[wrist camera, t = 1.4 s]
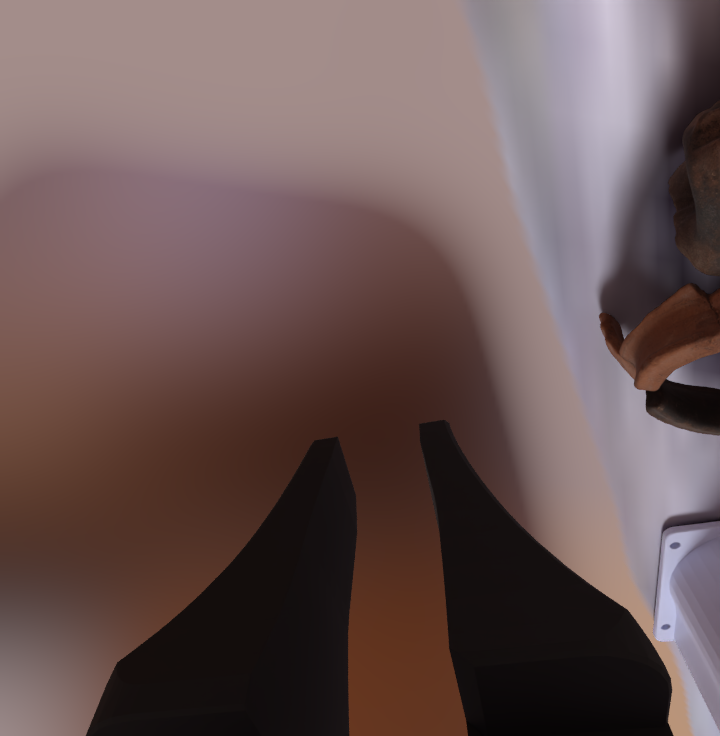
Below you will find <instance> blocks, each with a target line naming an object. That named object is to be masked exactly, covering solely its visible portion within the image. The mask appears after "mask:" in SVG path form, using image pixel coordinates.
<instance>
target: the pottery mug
mask: <svg viewBox="0 0 720 736" xmlns="http://www.w3.org/2000/svg"><path fill="white" fill-rule="evenodd" d="M682 142H683V148H684V154H685V161H684V163H682V164H681V165H680V166H679V167H678V168H677V170H676V171H675V172H674V174H673V175H672V176H671V177H670V179H669V182H668V184H669V185H670V187H669V193H670V195H671V197H672V199H673V201H674V206H675V207H676V210H677V212H676V213H675V215H674V217H673V218H674V226H675V229H676V236H675V241H676V245H677V248H678V249H679V250H680V252H681V253H682V254H683V255H684V256H686V257H687V258H688V259H689V260H690V262H691V263H692V265H693V266H694V267H695V268H696V269H698V270H699V271H701V272H702V273H704V274H706V275H713V276H720V101H718V102H716V103H715V104H714V105H713V106H712V107H711V108H709V109H707V110H705V111H703V112H701V113H699V114H698V115H697V116H696V117H695V118H694V119H693V120H692V122H691V123H690V124H689V125H688V127H687V128H686V129H685V131H684V134H683V138H682ZM599 318H600V321H601V324H600V327H601V330H602V333H603V335H604V337H605V341H606V345H607V347H608V349H609V350H610V352H611V354H612V355H613V356H614V357H615V358H616V359H617V361H618V362H619V363H620V365H621V366H622V367H623V368H624V369H625V370H626V371H627V372H628V373H629V374H630V376H631V377H632V378H633V379H634V380H635V381H634V386H635V387H636V388H637V389H639V390H646V411H647V412H648V413H649V414H650V415H651V416H653V417H655V418H657V419H658V420H660V421H662V422H664V423H667V424H670V425H673V426H675V427H678V428H681V429H685V430H688V431H693V432H697V433H702V434H712V435H720V389H715V388H709V387H701V386H692V385H684V384H680V383H675V382H672V381H669V380H667V379H666V378H667V377H668V376H669V375H670V374H671V373H672V372H673V371H674V370H676V369H678V368H679V367H682V366H684V365H686V364H688V363H690V362H692V361H694V360H697V359H699V358H702V357H705V356H708V355H712V354H715V353H718V352H720V288H719V289H718V290H716V291H715V292H714V293H712V294H706V293H705V291H704V290H701V289H700V288H699V287H698V286H697V285H696V284H693V283H689V284H687V285H685V286H683V287H682V288H680V289H679V290H678V291H677V292H676V293H675V294H674V295H672V296H671V297H669V298H668V299H667V300H666V301H664V302H663V303H662V304H661V305H660V306H658V307H657V308H655V309H654V310H653V311H651V312H650V313H648V314H647V315H646V316H645V318H644V319H643V320H642V322H641V323H640V324H639V325H638V326H637V327H636V328H635V329H634V330H632V331H631V332H630V334H628V335H627V336H626V338H625V339H624V337H623V334H622V330H621V327H620V325H619V323H618V322H617V321H616V320H615V318H613V317H612V316H611V315H609V314H607V313H601V314H600V315H599Z"/></svg>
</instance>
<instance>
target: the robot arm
mask: <svg viewBox="0 0 720 736" xmlns="http://www.w3.org/2000/svg"><path fill="white" fill-rule="evenodd" d="M419 428H420V443H421V448H422V452H423V457H424V462H425V466H426V471H427V476H428V481H429V486H430V490H431V495H432V500H433V505H434V509H435V514H436V519H437V523H438V528H439V532H440V542H441V552H442V561H443V572H444V584H445V596H446V608H447V622H448V636H449V649H450V653H451V657H452V662H453V666H454V670H455V674H456V679H457V683H458V687H459V692H460V696H461V700H462V705H463V709H464V712H465V717H466V722H467V730H468V736H673V733H672V731H671V729H670V726H669V724H668V715H669V708H670V701H671V693H672V686H671V678H670V676H669V674H668V671H667V669H666V667H665V665H664V663H663V661H662V660H661V658H660V657H659V655H658V653H657V651H656V650H655V648H654V646H653V645H652V643H651V641H650V640H649V639H648V637H647V636H646V634H645V633H644V632H643V630H642V629H641V627H640V626H639V624H638V623H637V622H636V620H635V619H634V618H633V616H632V615H631V614H630V612H629V611H628V610H627V609H625V608H624V607H623V606H621V605H619V604H618V603H616V602H615V601H614V600H612V599H610V598H609V597H607V596H606V595H605V594H603V593H602V592H600V591H599V590H597V589H596V588H594V587H593V586H592V585H590V584H589V583H588V582H586V581H585V580H584V579H582V578H581V577H580V576H578V575H577V574H576V573H574V572H573V571H572V570H571V569H569V568H568V567H567V566H565V565H564V564H563V563H562V562H561V561H559V560H558V559H557V558H556V557H555V556H554V555H553V554H551V553H550V552H549V551H548V550H547V549H545V548H544V547H543V546H542V545H541V544H540V543H538V542H537V541H536V540H535V539H534V538H533V537H532V536H531V535H530V534H529V533H528V532H527V531H526V530H525V529H524V528H523V527H522V526H521V525H520V524H519V523H518V522H517V521H516V520H515V519H514V518H513V517H512V516H511V515H510V514H509V513H508V512H507V511H506V509H505V508H504V507H503V506H502V505H501V504H500V503H499V501H498V500H497V499H496V498H495V497H494V495H493V494H492V493H491V492H490V490H489V489H488V488H487V487H486V485H485V484H484V483H483V481H482V480H481V479H480V477H479V476H478V475H477V473H476V472H475V470H474V469H473V468H472V466H471V464H470V463H469V462H468V460H467V458H466V457H465V455H464V454H463V452H462V450H461V449H460V447H459V445H458V443H457V441H456V439H455V437H454V435H453V433H452V430H451V428H450V425H449V423H448V422H447V421H445V420H440V421H435V422H428V423H422V424H419ZM356 536H357V512H356V494H355V491H354V488H353V484H352V481H351V478H350V475H349V471H348V468H347V465H346V462H345V459H344V455H343V452H342V449H341V446H340V442H339V439H338V437H334V438H328V439H322V440H315V441H314V442H313V443H312V445H311V446H310V448H309V450H308V452H307V453H306V455H305V457H304V459H303V460H302V462H301V464H300V466H299V468H298V469H297V471H296V473H295V474H294V476H293V478H292V479H291V481H290V483H289V484H288V486H287V487H286V489H285V490H284V492H283V494H282V495H281V497H280V499H279V500H278V502H277V503H276V505H275V506H274V508H273V509H272V510H271V512H270V514H269V515H268V516H267V518H266V519H265V520H264V522H263V523H262V525H261V526H260V527H259V529H258V530H257V532H256V533H255V534H254V535H253V537H252V538H251V539H250V541H249V542H248V543H247V545H246V546H245V547H244V548H243V549H242V551H241V552H240V553H239V554H238V555H237V556H236V558H235V559H234V560H233V561H232V562H231V563H230V565H229V566H228V567H227V568H226V569H225V570H224V571H223V572H222V573H221V574H220V575H219V576H218V577H217V578H216V579H215V580H214V581H213V582H212V583H211V584H210V585H209V586H208V587H207V588H206V589H205V590H204V591H203V592H202V593H201V594H200V595H199V596H198V597H197V598H196V599H195V600H194V601H193V602H192V603H190V604H189V605H188V606H187V607H186V608H185V609H184V610H183V611H182V612H181V613H180V614H178V615H177V616H176V617H175V618H174V619H172V620H171V621H170V622H169V623H168V624H167V625H165V626H164V627H163V628H162V629H160V630H159V631H158V632H157V633H156V634H154V635H153V636H152V637H150V638H149V639H148V640H146V641H145V642H144V643H143V644H141V645H140V646H139V647H138V648H136V649H135V650H134V651H132V652H131V653H130V654H128V655H127V656H126V657H124V658H123V659H121V660H120V661H119V662H117V664H116V666H115V668H114V670H113V673H112V674H111V677H110V679H109V681H108V683H107V685H106V687H105V690H104V693H103V695H102V697H101V700H100V702H99V705H98V707H97V710H96V712H95V714H94V717H93V719H92V722H91V725H90V727H89V729H88V732H87V734H86V736H349V712H348V711H349V707H348V625H349V609H350V600H351V590H352V580H353V570H354V560H355V549H356V538H357V537H356ZM653 634H654V636H655V638H656V640H658V641H661V642H665V641H675V643H676V645H677V647H678V649H679V651H680V653H681V655H682V657H683V659H684V661H685V663H686V665H687V667H688V669H689V671H690V673H691V675H692V677H693V679H694V681H695V683H696V685H697V687H698V689H699V691H700V693H701V695H702V697H703V699H704V701H705V703H706V705H707V707H708V709H709V711H710V713H711V715H712V717H713V719H714V721H715V723H716V725H717V727H718V729H719V731H720V521H716V522H708V523H700V524H692V525H684V526H675V527H670V528H668V529H666V530H665V531H664V532H663V535H662V545H661V555H660V566H659V576H658V586H657V597H656V607H655V617H654V628H653Z"/></svg>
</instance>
